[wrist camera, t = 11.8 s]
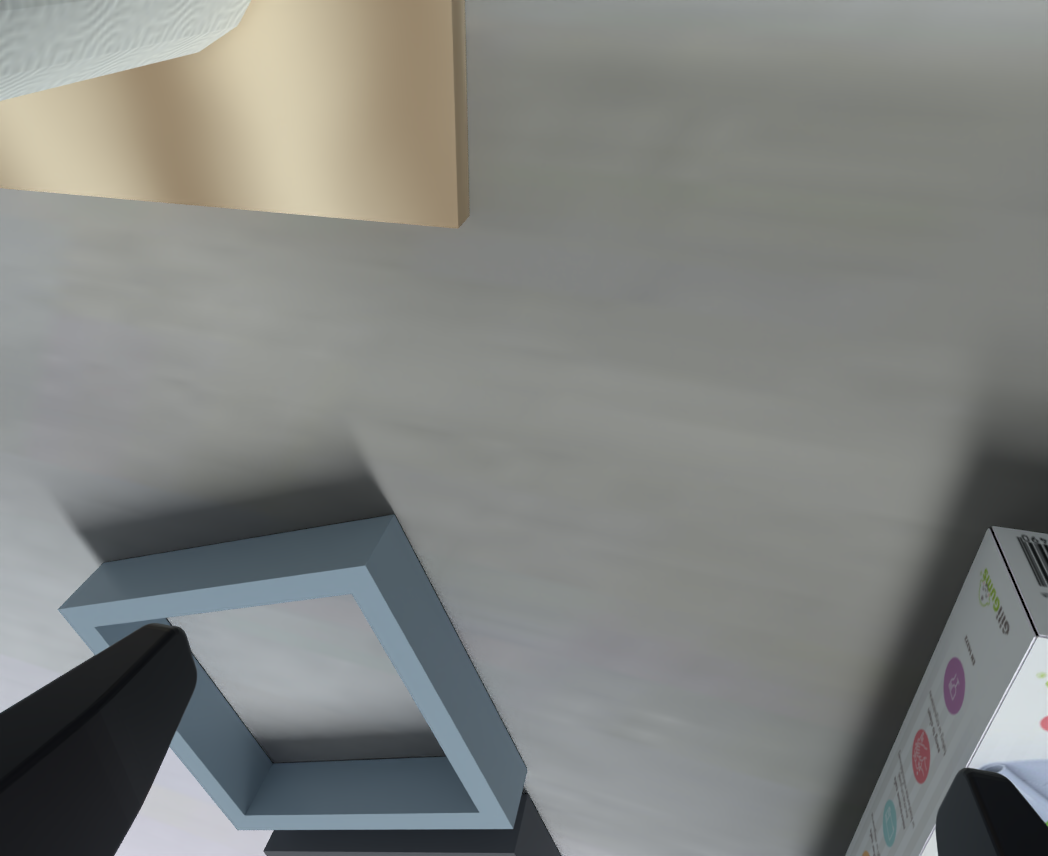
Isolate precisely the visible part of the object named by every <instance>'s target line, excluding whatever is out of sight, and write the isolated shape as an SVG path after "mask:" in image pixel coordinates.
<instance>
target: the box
mask: <svg viewBox="0 0 1048 856" xmlns="http://www.w3.org/2000/svg"><path fill="white" fill-rule="evenodd" d="M992 529H993V532H994V534H995V536H996V538H997V541H998V543H999V545H1000V547H1001V550H1002V552H1003V554H1004V557H1005V559H1006V561H1007V563H1008V566H1009V568H1010V570H1011V573H1012V575H1013V577H1014V580H1015V582H1016V584H1017V587H1018V589H1019V591H1020V594H1021V596H1022V598H1023V600H1024V603H1025V605H1026V607H1027V610H1028V612H1029V614H1030V617H1031V619H1032V621H1033V624H1034V626H1035V628H1036V630H1037V633H1038V635H1039V636H1037V637H1036V635H1035V632H1034V630H1033V628H1032V625H1031V623H1030V621H1029V618H1028V616H1027V614H1026V612H1025V609H1024V607H1023V605H1022V602H1021V600H1020V598H1019V595H1018V593H1017V591H1016V588H1015V586H1014V584H1013V581H1012V579H1011V577H1010V574H1009V572H1008V570H1007V567H1006V565H1005V563H1004V560H1003V558H1002V556H1001V553H1000V551H999V549H998V546H997V544H996V542H995V539H994V537H993V535H992V532H991V530H990V528H988V529H987V532H986V534H985V536H984V538H983V541H982V543H981V545H980V548H979V550H978V552H977V554H976V557H975V559H974V561H973V564H972V566H971V568H970V571H969V573H968V575H967V577H966V580H965V582H964V584H963V587H962V589H961V591H960V593H959V596H958V598H957V600H956V603H955V605H954V607H953V609H952V612H951V614H950V616H949V619H948V621H947V623H946V626H945V628H944V630H943V632H942V635H941V637H940V639H939V642H938V644H937V646H936V648H935V651H934V653H933V655H932V658H931V660H930V662H929V665H928V667H927V669H926V671H925V674H924V676H923V678H922V681H921V683H920V685H919V687H918V690H917V692H916V694H915V697H914V699H913V701H912V704H911V706H910V708H909V710H908V713H907V715H906V717H905V720H904V722H903V724H902V726H901V729H900V731H899V733H898V736H897V738H896V740H895V742H894V745H893V747H892V749H891V752H890V754H889V756H888V759H887V761H886V763H885V765H884V768H883V770H882V772H881V775H880V777H879V779H878V781H877V784H876V786H875V788H874V791H873V793H872V795H871V798H870V800H869V802H868V804H867V807H866V809H865V811H864V814H863V816H862V818H861V820H860V823H859V825H858V827H857V830H856V832H855V834H854V837H853V839H852V841H851V843H850V846H849V848H848V850H847V853H846V855H845V856H938V852H937V842H936V830H935V829H936V816H937V812H938V809H939V807H940V805H941V803H942V801H943V799H944V797H945V795H946V793H947V791H948V789H949V787H950V785H951V784H952V782H953V780H954V778H955V776H956V774H957V773H958V771H959V770H961V769H963V768H974V769H980V770H985V771H991V772H996V773H999V774H1002V775H1004V776H1005V777H1007V778H1008V779H1009V780H1010V781H1011V782H1012V783H1013V784H1014V785H1015V787H1016V788H1017V789H1018V790H1019V791H1020V793H1021V794H1022V795H1023V796H1024V798H1025V799H1026V800H1027V801H1028V803H1029V804H1030V805H1031V806H1032V807H1033V809H1034V810H1035V811H1036V812H1037V814H1038V815H1039V816H1040V817H1041V818H1042V820H1043V821H1044V822H1045V823H1046V825H1047V826H1048V534H1045V533H1038V532H1031V531H1024V530H1017V529H1011V528H1004V527H997V526H992Z"/></svg>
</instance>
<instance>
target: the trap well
mask: <svg viewBox="0 0 1048 856" xmlns="http://www.w3.org/2000/svg"><path fill="white" fill-rule="evenodd" d="M264 853H265V854H266V855H267V856H561V855H560V854H559V852H558V850H557V848H556V846H555V844H554V842H553V840H552V839H551V837H550V835H549V833H548V831H547V829H546V827H545V825H544V823H543V822H542V820H541V818H540V816H539V814H538V812H537V810H536V808H535V807H534V805H533V803H532V801H531V799H530V797H529V795H528V794H522V795H521V799H520V803H519V807H518V811H517V816H516V820H515V824H514V828H513V829H391V830H274V831H273V833H272V835H271V837H270V839H269V841H268V843H267V845H266V847H265V849H264Z"/></svg>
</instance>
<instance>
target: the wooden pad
mask: <svg viewBox="0 0 1048 856" xmlns="http://www.w3.org/2000/svg"><path fill="white" fill-rule="evenodd" d="M0 188H5V189H17V190H28V191H39V192H51V193H62V194H73V195H84V196H96V197H107V198H118V199H130V200H141V201H152V202H164V203H175V204H186V205H198V206H209V207H220V208H232V209H243V210H254V211H266V212H277V213H288V214H300V215H311V216H322V217H333V218H345V219H356V220H367V221H379V222H390V223H401V224H413V225H424V226H435V227H447V228H459V227H460V226H461V225H462V224H463V223H464V221H465V220H466V219H467V218H468V217H469V172H468V126H467V80H466V35H465V0H251V2H250V4H249V6H248V8H247V10H246V11H245V13H244V15H243V17H242V19H241V21H240V23H239V24H238V25H237V26H236V27H235V28H233V29H232V30H231V31H229V32H228V33H226V34H225V35H223V36H222V37H220V38H219V39H217V40H216V41H214V42H213V43H212V44H210V45H209V46H207V47H206V48H204V49H203V50H201V51H200V52H198V53H193V54H189V55H185V56H181V57H177V58H173V59H169V60H165V61H161V62H157V63H153V64H149V65H145V66H141V67H136V68H132V69H128V70H124V71H120V72H116V73H112V74H108V75H104V76H100V77H96V78H92V79H88V80H84V81H79V82H75V83H71V84H67V85H63V86H59V87H55V88H51V89H47V90H43V91H39V92H35V93H31V94H26V95H22V96H18V97H14V98H10V99H6V100H2V101H0Z"/></svg>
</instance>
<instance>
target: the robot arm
mask: <svg viewBox="0 0 1048 856" xmlns="http://www.w3.org/2000/svg"><path fill="white" fill-rule="evenodd" d="M196 683H197V668H196V665H195V661H194V658H193V655H192V652H191V649H190V645H189V642H188V639H187V636H186V634H185V632H184V630H182V629H181V628H180V627H177V626H171V625H166V624H160V623H150V624H147V625H144V626H142V627H141V628H139V629H137V630H136V631H134V632H132V633H131V634H129V635H127V636H126V637H124V638H123V639H121V640H119V641H118V642H116V643H114V644H113V645H111V646H109V647H108V648H106V649H105V650H103V651H101V652H100V653H98V654H96V655H95V656H93V657H91V658H90V659H88V660H87V661H85V662H83V663H82V664H80V665H78V666H77V667H75V668H73V669H72V670H70V671H68V672H67V673H65V674H64V675H62V676H60V677H59V678H57V679H55V680H54V681H52V682H50V683H49V684H47V685H46V686H44V687H42V688H41V689H39V690H37V691H36V692H34V693H32V694H31V695H29V696H28V697H26V698H24V699H23V700H21V701H19V702H18V703H16V704H14V705H13V706H11V707H10V708H8V709H6V710H5V711H3V712H1V713H0V856H114V855H115V853H116V851H117V850H118V848H119V846H120V844H121V843H122V841H123V839H124V837H125V836H126V834H127V832H128V830H129V829H130V827H131V825H132V823H133V822H134V820H135V818H136V816H137V814H138V812H139V810H140V809H141V807H142V805H143V803H144V801H145V799H146V796H147V794H148V792H149V790H150V788H151V786H152V784H153V782H154V779H155V777H156V775H157V773H158V770H159V768H160V766H161V764H162V762H163V759H164V757H165V755H166V753H167V750H168V748H169V746H170V744H171V741H172V739H173V737H174V735H175V733H176V730H177V728H178V726H179V724H180V721H181V719H182V717H183V715H184V713H185V710H186V708H187V706H188V704H189V701H190V699H191V697H192V695H193V692H194V690H195V687H196ZM935 830H936V842H937V852H938V856H1048V826H1047V825H1046V823H1045V822H1044V821H1043V820H1042V818H1041V817H1040V816H1039V815H1038V814H1037V812H1036V811H1035V810H1034V809H1033V807H1032V806H1031V805H1030V804H1029V803H1028V801H1027V800H1026V799H1025V798H1024V796H1023V795H1022V794H1021V793H1020V791H1019V790H1018V789H1017V788H1016V787H1015V785H1014V784H1013V783H1012V782H1011V781H1010V780H1009V779H1008V778H1007V777H1005V776H1004V775H1002V774H999V773H996V772H991V771H985V770H980V769H974V768H963V769H961V770H959V771H958V773H957V774H956V776H955V778H954V780H953V782H952V784H951V785H950V787H949V789H948V791H947V793H946V795H945V797H944V799H943V801H942V803H941V805H940V807H939V809H938V812H937V816H936V829H935Z"/></svg>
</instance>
